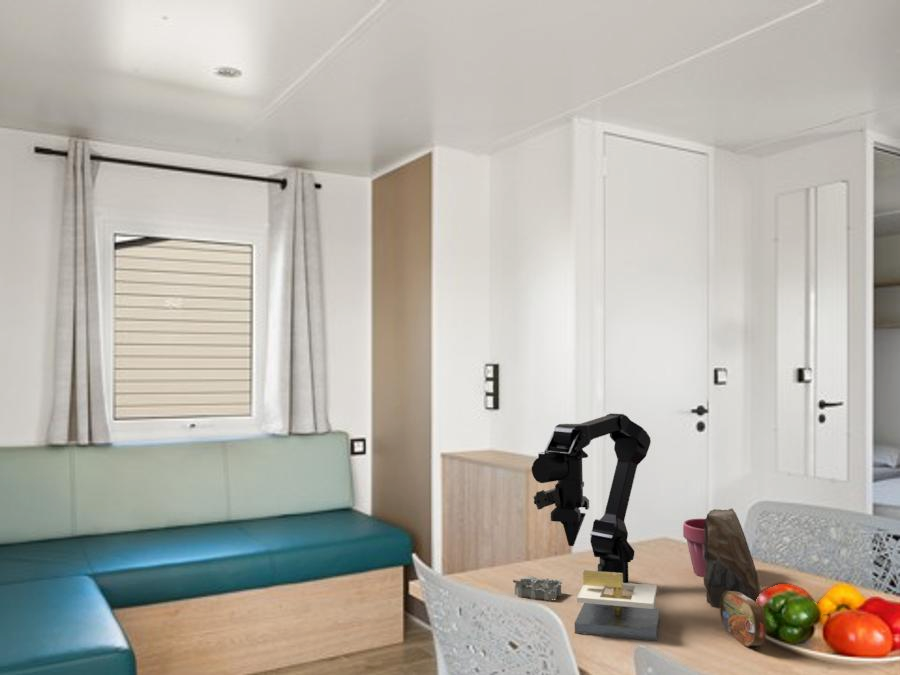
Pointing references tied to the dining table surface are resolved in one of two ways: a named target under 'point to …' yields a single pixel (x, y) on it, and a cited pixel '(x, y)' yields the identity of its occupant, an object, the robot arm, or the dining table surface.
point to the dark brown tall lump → (727, 558)
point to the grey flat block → (618, 622)
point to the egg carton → (538, 588)
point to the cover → (640, 599)
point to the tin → (743, 618)
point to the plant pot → (696, 543)
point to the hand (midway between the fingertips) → (571, 545)
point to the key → (607, 585)
